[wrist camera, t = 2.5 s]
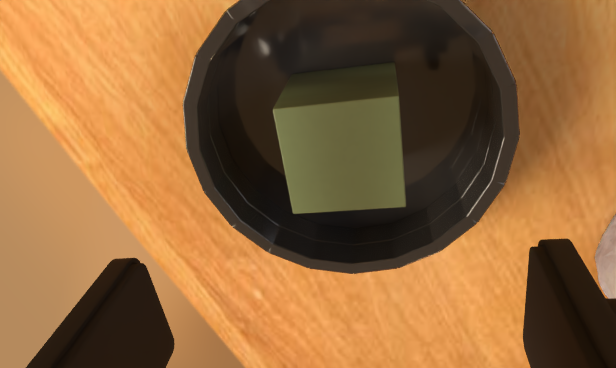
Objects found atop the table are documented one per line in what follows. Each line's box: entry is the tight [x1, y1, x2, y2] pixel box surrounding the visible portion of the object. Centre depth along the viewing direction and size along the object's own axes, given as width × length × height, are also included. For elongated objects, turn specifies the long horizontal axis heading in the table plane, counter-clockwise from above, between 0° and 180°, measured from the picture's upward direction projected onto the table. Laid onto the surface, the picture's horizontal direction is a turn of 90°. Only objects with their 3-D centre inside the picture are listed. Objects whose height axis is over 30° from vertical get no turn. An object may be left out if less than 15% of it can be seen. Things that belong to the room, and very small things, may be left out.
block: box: [273, 62, 406, 214], centre depth 20 cm, size 4×4×4 cm
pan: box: [183, 0, 520, 274], centre depth 21 cm, size 13×13×4 cm
